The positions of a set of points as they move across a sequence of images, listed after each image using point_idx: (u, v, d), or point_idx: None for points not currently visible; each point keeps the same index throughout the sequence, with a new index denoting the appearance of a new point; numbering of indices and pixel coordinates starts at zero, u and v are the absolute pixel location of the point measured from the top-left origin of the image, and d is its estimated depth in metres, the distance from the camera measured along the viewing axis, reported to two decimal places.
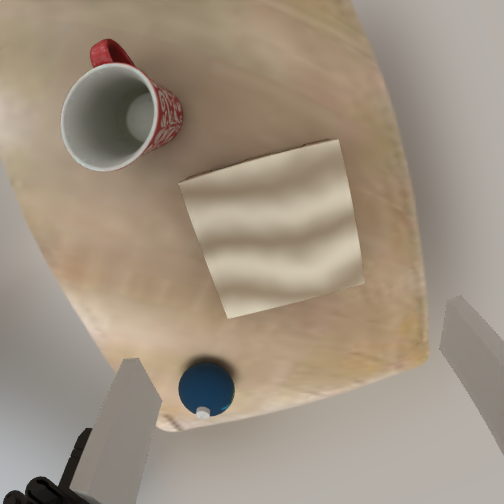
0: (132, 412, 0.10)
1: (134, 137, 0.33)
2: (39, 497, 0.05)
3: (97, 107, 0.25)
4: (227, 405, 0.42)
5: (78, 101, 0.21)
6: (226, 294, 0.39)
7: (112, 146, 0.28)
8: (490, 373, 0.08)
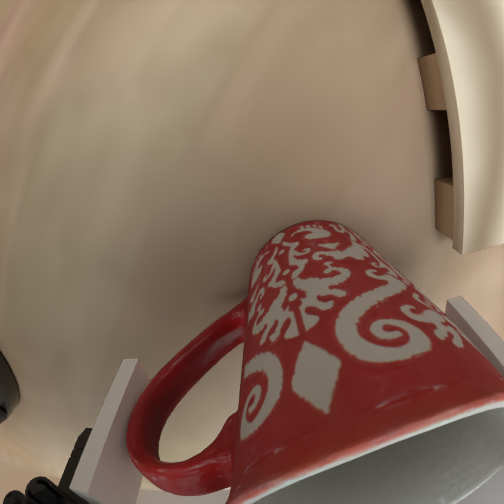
0: None
1: None
2: (39, 497, 0.05)
3: None
4: None
5: None
6: None
7: None
8: None
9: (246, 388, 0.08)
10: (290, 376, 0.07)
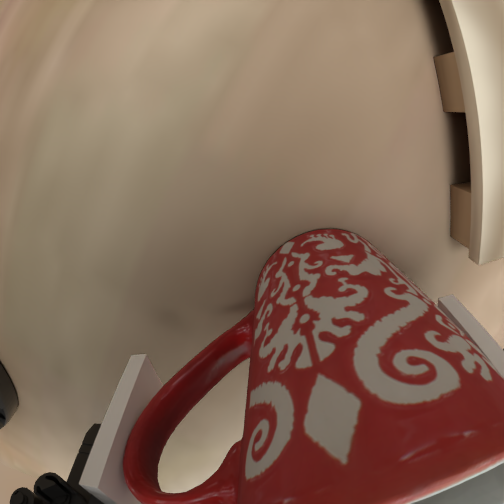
0: (140, 407, 0.10)
1: None
2: (48, 493, 0.05)
3: None
4: None
5: None
6: None
7: None
8: None
9: (252, 420, 0.07)
10: (302, 415, 0.06)
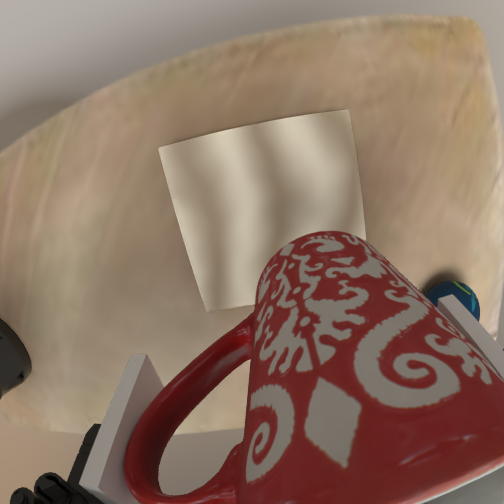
0: (141, 407, 0.10)
1: None
2: (48, 493, 0.05)
3: None
4: (471, 301, 0.30)
5: None
6: None
7: None
8: None
9: (253, 422, 0.07)
10: (303, 418, 0.06)
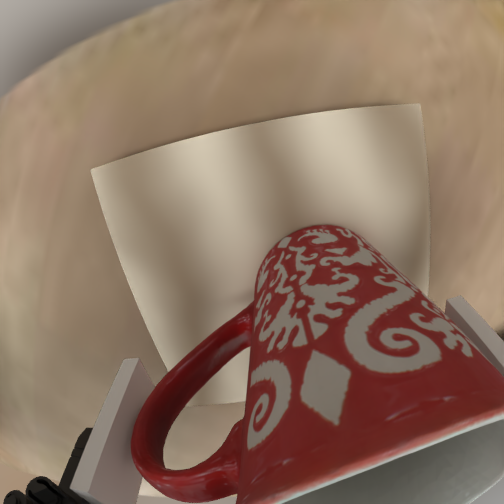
0: (132, 412, 0.10)
1: None
2: (39, 497, 0.05)
3: None
4: None
5: None
6: None
7: None
8: None
9: (253, 396, 0.08)
10: (299, 386, 0.07)
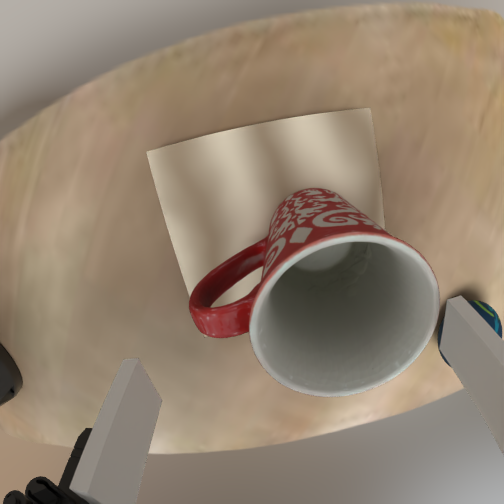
0: (132, 412, 0.10)
1: (338, 262, 0.25)
2: (39, 497, 0.05)
3: (300, 323, 0.19)
4: (495, 324, 0.25)
5: (296, 363, 0.16)
6: None
7: (363, 304, 0.20)
8: (490, 373, 0.08)
9: (266, 259, 0.16)
10: (289, 239, 0.15)
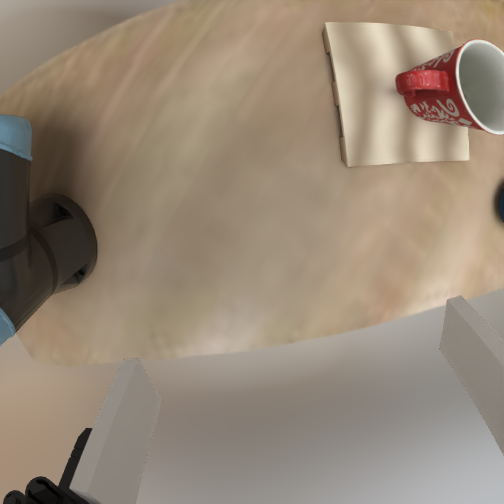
0: (132, 412, 0.10)
1: None
2: (39, 497, 0.05)
3: None
4: None
5: None
6: (449, 153, 0.33)
7: (475, 116, 0.25)
8: (490, 373, 0.08)
9: (440, 61, 0.21)
10: (454, 49, 0.20)
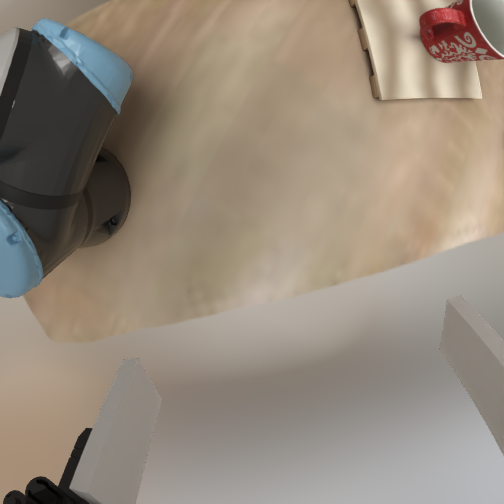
0: (132, 412, 0.10)
1: None
2: (39, 497, 0.05)
3: None
4: None
5: None
6: (465, 91, 0.33)
7: None
8: (490, 373, 0.08)
9: (454, 5, 0.21)
10: None
